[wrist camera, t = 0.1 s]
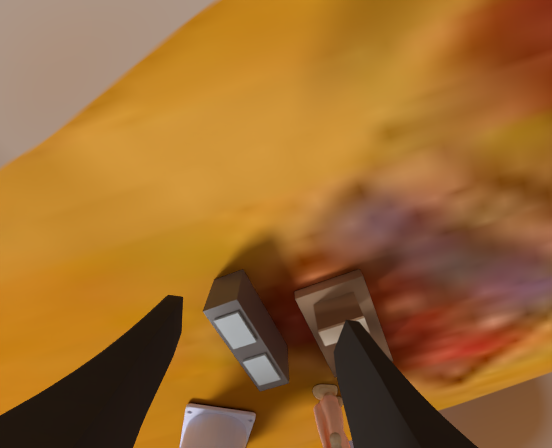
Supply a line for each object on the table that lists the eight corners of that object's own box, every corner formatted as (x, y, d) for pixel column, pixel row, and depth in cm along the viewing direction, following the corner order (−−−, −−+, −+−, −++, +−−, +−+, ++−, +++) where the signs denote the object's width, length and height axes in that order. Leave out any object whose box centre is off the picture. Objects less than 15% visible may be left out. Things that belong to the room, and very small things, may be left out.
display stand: (389, 352, 26) (407, 391, 23) (332, 368, 27) (341, 409, 23) (359, 268, 22) (376, 300, 18) (294, 291, 23) (297, 326, 19)
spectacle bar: (287, 344, 26) (289, 385, 22) (261, 352, 26) (259, 393, 23) (243, 267, 22) (236, 301, 18) (214, 278, 23) (202, 313, 19)
